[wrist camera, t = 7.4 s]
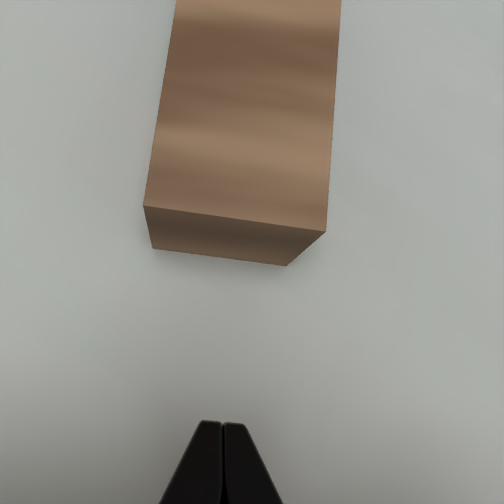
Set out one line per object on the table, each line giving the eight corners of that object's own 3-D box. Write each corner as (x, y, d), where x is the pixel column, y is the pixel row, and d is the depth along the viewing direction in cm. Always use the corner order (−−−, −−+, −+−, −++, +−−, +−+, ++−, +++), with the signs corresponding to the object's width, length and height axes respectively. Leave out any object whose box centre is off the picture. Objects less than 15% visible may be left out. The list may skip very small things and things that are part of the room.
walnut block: (326, 231, 13) (351, -156, 16) (142, 205, 13) (208, -191, 16) (285, 266, 18) (312, -39, 21) (152, 248, 17) (200, -63, 21)
